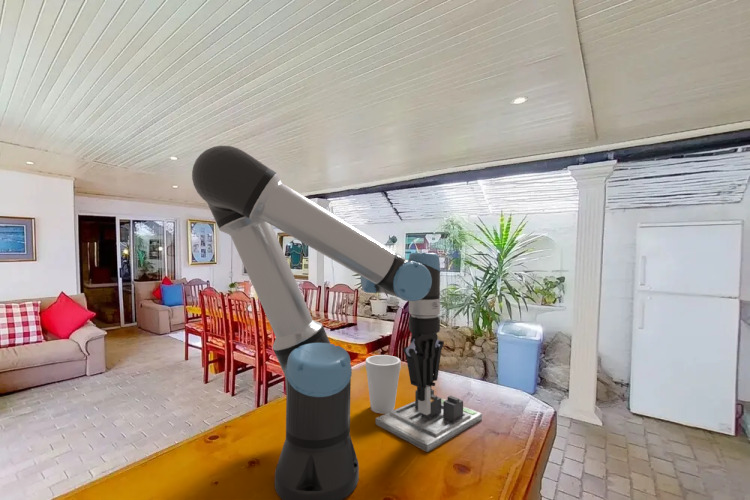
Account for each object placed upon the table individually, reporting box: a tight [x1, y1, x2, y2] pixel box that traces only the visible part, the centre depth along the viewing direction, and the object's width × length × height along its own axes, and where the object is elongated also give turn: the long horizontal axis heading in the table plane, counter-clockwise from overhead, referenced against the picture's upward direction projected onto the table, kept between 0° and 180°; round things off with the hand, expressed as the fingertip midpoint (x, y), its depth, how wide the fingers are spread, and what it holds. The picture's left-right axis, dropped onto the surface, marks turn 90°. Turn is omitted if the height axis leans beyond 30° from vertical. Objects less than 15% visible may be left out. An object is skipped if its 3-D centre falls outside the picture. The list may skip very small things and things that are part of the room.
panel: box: [375, 396, 483, 453], centre depth 85 cm, size 22×16×2 cm
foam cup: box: [365, 354, 402, 415], centre depth 93 cm, size 10×9×13 cm
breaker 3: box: [443, 395, 464, 422], centre depth 85 cm, size 4×3×5 cm
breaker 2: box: [422, 394, 442, 419], centre depth 86 cm, size 4×3×5 cm
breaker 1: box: [414, 388, 435, 407], centre depth 91 cm, size 4×3×5 cm
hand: (424, 412), depth 84 cm, fingers closed
